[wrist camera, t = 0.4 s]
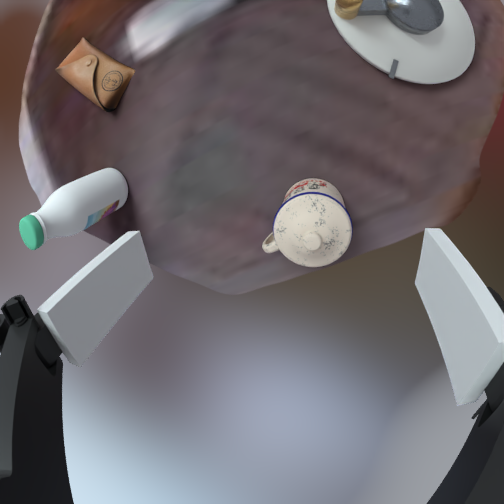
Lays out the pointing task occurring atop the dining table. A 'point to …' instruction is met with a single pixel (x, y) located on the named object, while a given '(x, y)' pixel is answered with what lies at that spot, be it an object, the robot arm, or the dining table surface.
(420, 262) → the robot arm
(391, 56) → the dial plate
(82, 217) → the milk bottle
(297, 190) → the teacup with lid
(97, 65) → the sunglasses case
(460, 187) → the dining table surface
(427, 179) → the dining table surface
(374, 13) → the lever
